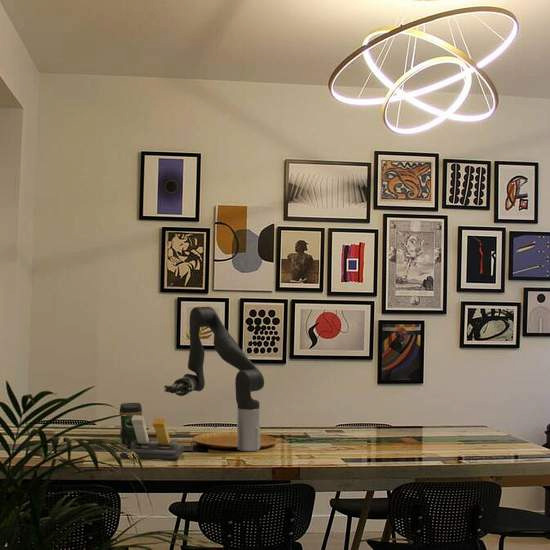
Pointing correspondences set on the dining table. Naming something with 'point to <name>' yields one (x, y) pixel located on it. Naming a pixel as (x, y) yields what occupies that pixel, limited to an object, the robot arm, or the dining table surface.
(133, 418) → the lever
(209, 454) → the dining table surface
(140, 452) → the grey flat bar
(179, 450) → the breaker panel
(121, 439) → the coffee jar
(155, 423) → the breaker lever
